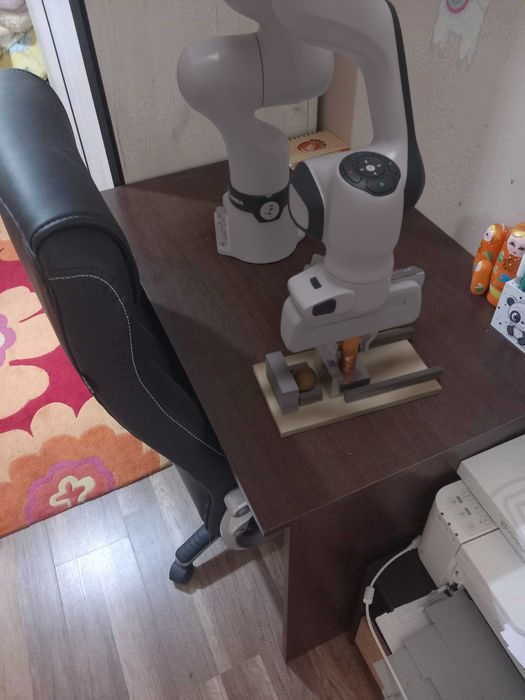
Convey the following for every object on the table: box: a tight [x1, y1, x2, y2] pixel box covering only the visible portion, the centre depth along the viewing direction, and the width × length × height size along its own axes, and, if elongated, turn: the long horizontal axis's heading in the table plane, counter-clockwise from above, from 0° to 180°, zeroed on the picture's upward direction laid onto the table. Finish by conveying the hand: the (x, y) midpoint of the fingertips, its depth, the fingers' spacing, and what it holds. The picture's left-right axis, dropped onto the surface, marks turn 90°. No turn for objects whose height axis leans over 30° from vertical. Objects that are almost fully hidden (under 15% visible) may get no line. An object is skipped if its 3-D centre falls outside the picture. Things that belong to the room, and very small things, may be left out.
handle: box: [314, 336, 371, 398], centre depth 81 cm, size 7×6×10 cm
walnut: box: [291, 366, 317, 392], centre depth 83 cm, size 4×4×4 cm
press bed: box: [252, 325, 444, 439], centre depth 84 cm, size 14×27×6 cm, turn 108°
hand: (347, 352), depth 82 cm, fingers closed on handle, 3 cm apart
